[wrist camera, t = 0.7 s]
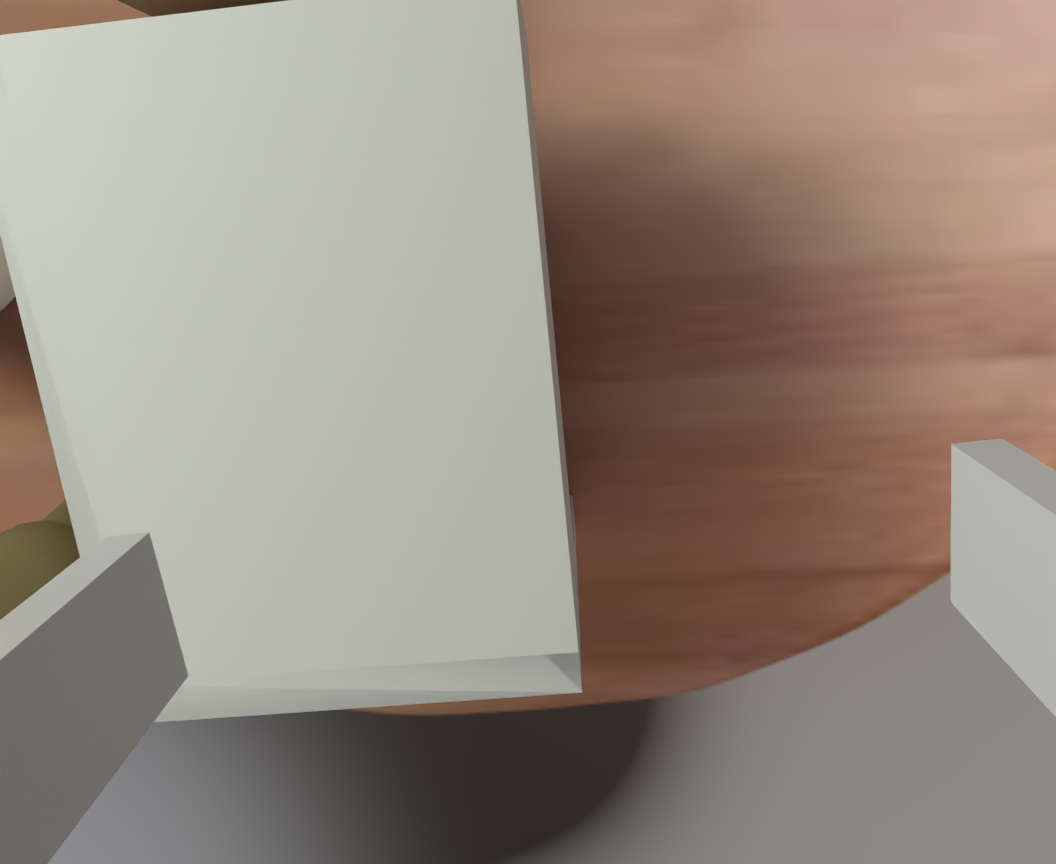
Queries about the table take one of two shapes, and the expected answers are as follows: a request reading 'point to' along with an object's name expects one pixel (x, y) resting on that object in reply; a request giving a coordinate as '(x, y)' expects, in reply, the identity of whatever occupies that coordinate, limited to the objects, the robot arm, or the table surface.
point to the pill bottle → (5, 280)
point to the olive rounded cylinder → (34, 556)
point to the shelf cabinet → (303, 341)
